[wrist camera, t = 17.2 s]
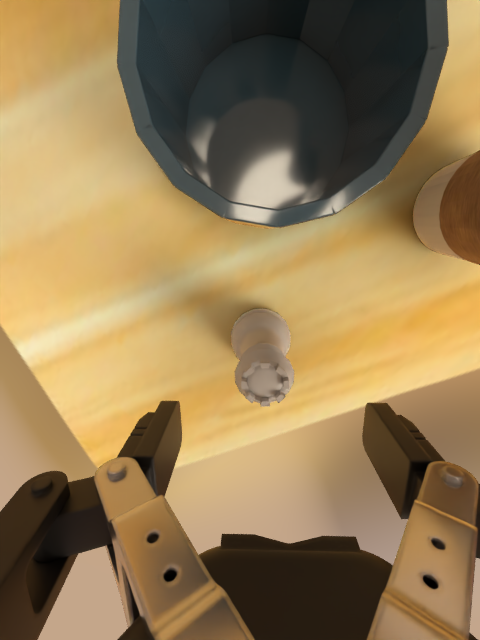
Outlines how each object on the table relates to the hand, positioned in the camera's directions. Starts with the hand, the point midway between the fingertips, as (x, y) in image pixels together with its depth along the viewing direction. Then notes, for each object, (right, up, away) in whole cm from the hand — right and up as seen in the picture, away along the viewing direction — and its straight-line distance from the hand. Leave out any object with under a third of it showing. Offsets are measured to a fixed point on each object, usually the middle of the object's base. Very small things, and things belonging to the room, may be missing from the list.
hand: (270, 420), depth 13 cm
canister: (0, +16, +7) cm, 18 cm away
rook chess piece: (0, +3, +11) cm, 11 cm away
